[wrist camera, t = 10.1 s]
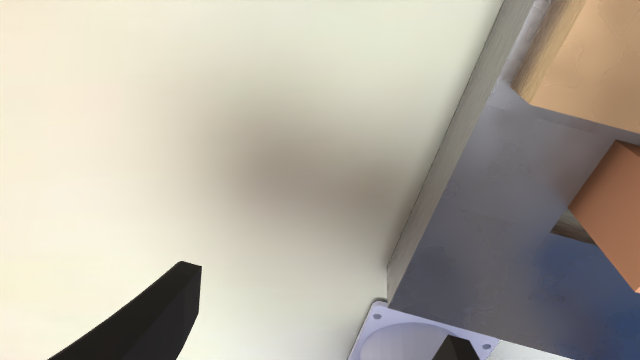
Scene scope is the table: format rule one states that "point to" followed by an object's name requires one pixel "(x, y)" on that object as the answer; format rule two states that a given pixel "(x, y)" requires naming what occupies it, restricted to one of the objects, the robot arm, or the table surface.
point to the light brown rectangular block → (614, 209)
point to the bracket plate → (529, 186)
